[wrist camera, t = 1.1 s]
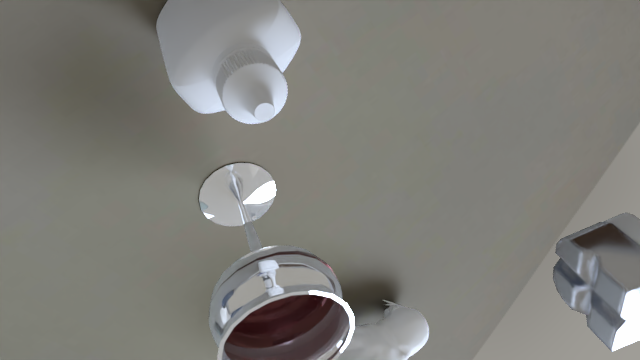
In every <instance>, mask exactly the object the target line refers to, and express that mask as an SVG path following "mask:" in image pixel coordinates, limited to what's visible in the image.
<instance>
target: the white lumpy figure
mask: <svg viewBox="0 0 640 360" xmlns="http://www.w3.org/2000/svg"><path fill="white" fill-rule="evenodd" d="M383 301H385V302H387V303H389V304H386V305H391V306H390V307H389V308H388V309H386V310H385V311H384V317H385V318H384V319H382V320H380V321H378V322H377V323H376V324H365V325H361V326H359V327H354V331H353V334H352V336H351V339H350V342H349V344H348V345H347V346H346V348H345V349H344V350H343V352H342V353H341V354H340V355H339V357H338V358H337V359H335V360H407V359H408V357H410V356H412V355H413V354H415V353H416V352H417V351H418V350H419V349H420V348H422V347H423V346H424V344H425V343H426V341H427V340H428V336H429V327H428V323H427V321H426V319H425V317H424V316H423V315H422V314H421V313H420V312H419V311H418V310H417V309H413V308H409V307H405V306H402V305H399V304H395V303H393V302H392V303H391V302H390V301H386V300H383ZM382 305H383V304H382Z"/></svg>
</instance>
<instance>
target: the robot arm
mask: <svg viewBox="0 0 640 360" xmlns="http://www.w3.org/2000/svg"><path fill="white" fill-rule="evenodd" d="M556 254H557V255H558V256H559V257H560V259H559V261H558V262H557V264H556V265H555V266H554V270H553V280H554V283H555V286H556V289H557V291H558V293H559V294H560V296H561V297H562V299H563V300H564V301H565V302H566V304H567V305H568V306H569V307H570V308H571V309H572V310H575V311H577V312H580V313H583V314H585V315H586V318H587V326H588V327H589V328H590V329H591V330H592V331H593V332H594V334H595V335H596V336H597V337H598V338H599V339H600V340H601V341H602V342H603V343H604V344H605V345H606V346H607V347H608V348H609V349H610V350H611V351H614V350H617V349H619V348H621V347H624V346H626V345H629V344H631V343H633V342H636V341H638V340H640V219H639V218H637V217H636V216H634V215H632V214H629V213H623V214H620V215H618V216H615V217H613V218H611V219H608V220H606V221H604V222H599V223H597V224H595V225H592V226H590V227H587V228H585V229H583V230H580V231H578V232H576V233H573V234H571V235H569V236H566V237H564V238H562V239H560V241H559V242H558V243H557V245H556Z"/></svg>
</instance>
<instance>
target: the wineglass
mask: <svg viewBox="0 0 640 360" xmlns="http://www.w3.org/2000/svg"><path fill="white" fill-rule="evenodd" d="M275 193H276V189H275V182H274V180H273V178H272V177H271V175H270V173H268V172H267V171H266V170H265V169H263V168H262V167H260V166H257V165H254V164H251V163H236V164H231V165H227V166H224V167H223V168H221V169H219V170H217V171H215V172H214V173H213V174H212V175H211V176H210V177H209V178H208V179H207V180H205V182H204V184H203V186H202V188H201V190H200V196H199V203H200V207H201V210H202V212H203V213H204V214H205V216H206V217H207V218H208V219H210V220H211V221H213V222H215V223H216V224H220V225H224V226H240V225H244V229H245V232H246V236H247V240H248V244H249V247H250V251H251V253H249V254H247V255H245V256H243V257H241V258H240V259H238V260H236V261H235V262H234V263H233V264H232V265H231V266H230V267H229V268H227V269H226V270H225V271H224V272H223V273H222V275H221V277H220V278H219V280H218V282H217V283H216V285H215V287H214V290H213V293H212V296H211V302H210V308H209V327H210V330H211V333H212V336H213V339H214V341H215V343H216V345H217V347H218V348H219V351H218V356H217V359H218V360H335V359H337V358H338V357H339V355H340V354H341V353H342V352H343V350H344V349H345V348H346V346H347V345H348V344H349V342H350V339H351V336H352V334H353V331H354V314H353V312H352V311H351V309H350V307H349V306H348V304H347V303H346V302H345V301H343V297H342V290H341V285H340V283H339V281H338V280H337V277H336V276H335V274H334V272H333V271H332V269H331V267H330V266H329V265H328V264H327V263H326V262H324V261H323V260H321V259H320V258H318V257H317V256H315V255H314V254H312V253H311V252H310V251H308V250H307V249H303V248H299V247H295V246H291V245H284V246H269V247H265V248H263V247H262V244H261V242H260V240H259V237H258V235H257V233H256V230H255V228H254V226H253V223H252V221H254V220H256V219H258V218H260V217H261V216H262V215H263V214H264V213H265V212H266V211H267V210H268V209H269V208H270V206H271V204H272V203H273V201H274V197H275Z"/></svg>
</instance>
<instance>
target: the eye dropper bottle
mask: <svg viewBox="0 0 640 360" xmlns="http://www.w3.org/2000/svg"><path fill="white" fill-rule="evenodd" d="M156 29H157V33H158V38H159V42H160V46H161V51H162V55H163V59H164V63H165V67H166V71H167V74H168V77H169V80H170V82H171V85H172V87H173V88H174V90H175V91H176V92H177V93H178V95H179V96H180V97H181V98H182V99H183V100H184V101H185V102H186V103H187V104H188V105H189V106H190V107H191V108H192V109H193V110H195V111H197V112H199V113H206V114H208V113H215V112H219V111H224V110H226V112H227V113H228V115H230V116H231V117H233V119H236V121H239V122H242V123H245V124H247V123H248V124H257V123H263V122H266V121H269V120H270V119H272V118H273V117H275V115H277V113H278V112H280V110H281V109H282V107H283V105H284V104H285V101H286V98H287V95H288V94H287V92H288V90H287V89H288V87H287V85H288V84H287V83H286V82H287V81H286V80H285V79H286V78H285V77H284V75H283V72H284V70H285V69H286V68H287V66H288V65H289V63H290V62H291V60H292V58H293V57H294V55H295V53H296V51H297V49H298V47H299V45H300V41H301V34H300V30H299V28H298V26H297V24H296V23H295V21H294V19H293V18H292V16H291V15H290V13H289V12H288V10H287V9H286V7H285V6H284V5H283V3H282V2H281V1H280V0H168V1H167V2H166V4H165V6H164V7H163V9H162V11H161V12H160V14H159V17H158V19H157V24H156Z"/></svg>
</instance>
